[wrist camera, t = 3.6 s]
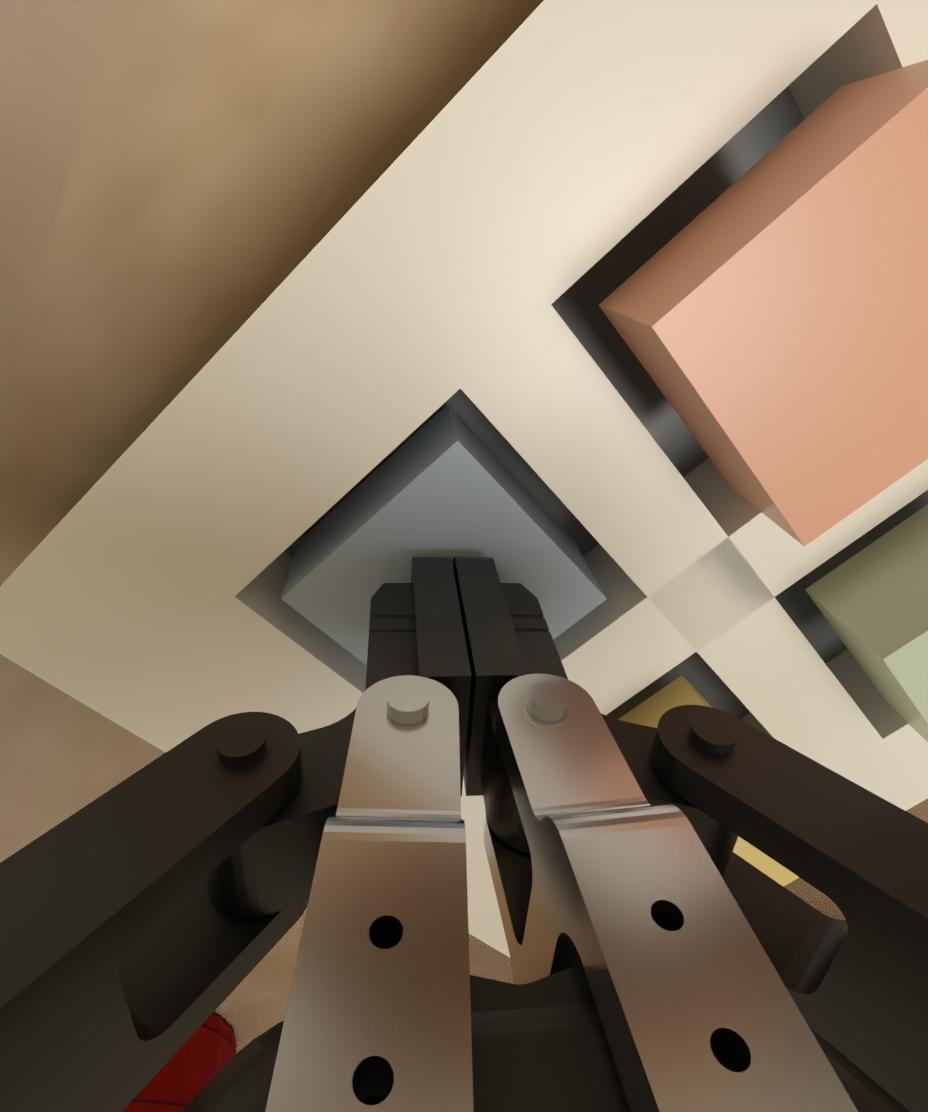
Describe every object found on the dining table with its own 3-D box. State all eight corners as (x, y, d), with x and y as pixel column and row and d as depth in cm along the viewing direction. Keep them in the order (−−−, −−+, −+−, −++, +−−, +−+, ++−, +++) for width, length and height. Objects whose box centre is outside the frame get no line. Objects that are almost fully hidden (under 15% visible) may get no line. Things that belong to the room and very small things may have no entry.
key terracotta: (948, 324, 11) (1082, 348, 9) (732, 489, 12) (804, 546, 10) (841, 86, 9) (975, 44, 7) (598, 305, 10) (651, 326, 8)
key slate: (576, 544, 15) (607, 598, 12) (435, 655, 16) (441, 724, 14) (447, 404, 13) (457, 440, 11) (298, 541, 14) (281, 598, 12)
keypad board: (1132, 497, 18) (1327, 570, 14) (548, 872, 23) (577, 997, 19) (849, -308, 10) (1116, -618, 6) (65, 530, 15) (-41, 630, 11)
